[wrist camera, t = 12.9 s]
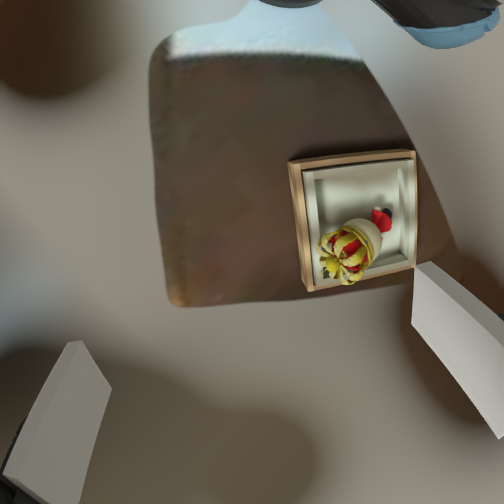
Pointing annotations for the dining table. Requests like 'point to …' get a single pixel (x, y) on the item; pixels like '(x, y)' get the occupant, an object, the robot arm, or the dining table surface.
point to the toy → (354, 246)
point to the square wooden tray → (355, 207)
